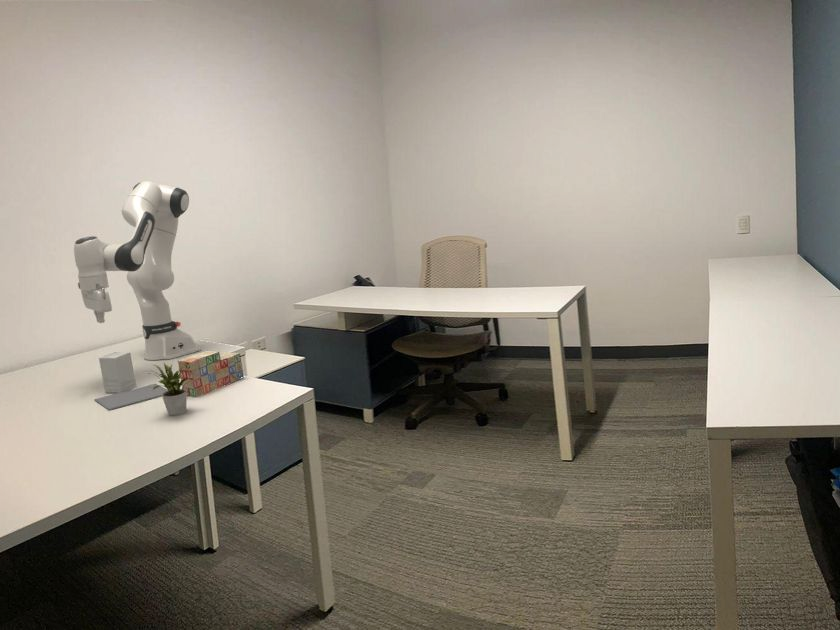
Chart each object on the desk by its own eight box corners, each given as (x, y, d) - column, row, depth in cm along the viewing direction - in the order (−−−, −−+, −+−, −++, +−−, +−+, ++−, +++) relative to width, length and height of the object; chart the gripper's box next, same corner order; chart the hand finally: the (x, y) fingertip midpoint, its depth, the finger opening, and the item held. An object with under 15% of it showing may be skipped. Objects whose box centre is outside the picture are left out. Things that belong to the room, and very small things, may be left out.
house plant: (137, 419, 183) (127, 366, 180) (170, 403, 196) (162, 353, 192) (175, 422, 178) (166, 368, 175) (207, 406, 190) (199, 355, 187)
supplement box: (137, 386, 218) (131, 352, 215) (121, 393, 211) (114, 357, 208) (120, 386, 220) (114, 351, 218) (104, 392, 213) (97, 357, 211)
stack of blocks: (231, 376, 221) (226, 343, 219) (244, 378, 218) (239, 344, 216) (182, 396, 203) (177, 359, 201) (196, 397, 200) (190, 361, 198)
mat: (155, 384, 218) (155, 383, 218) (172, 393, 206) (172, 392, 206) (94, 400, 205) (94, 399, 205) (109, 410, 193) (108, 409, 193)
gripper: (112, 284, 210) (119, 323, 213) (95, 280, 225) (102, 317, 228) (92, 287, 206) (100, 327, 209) (76, 283, 221) (83, 321, 224)
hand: (101, 322), depth 218 cm, fingers closed
